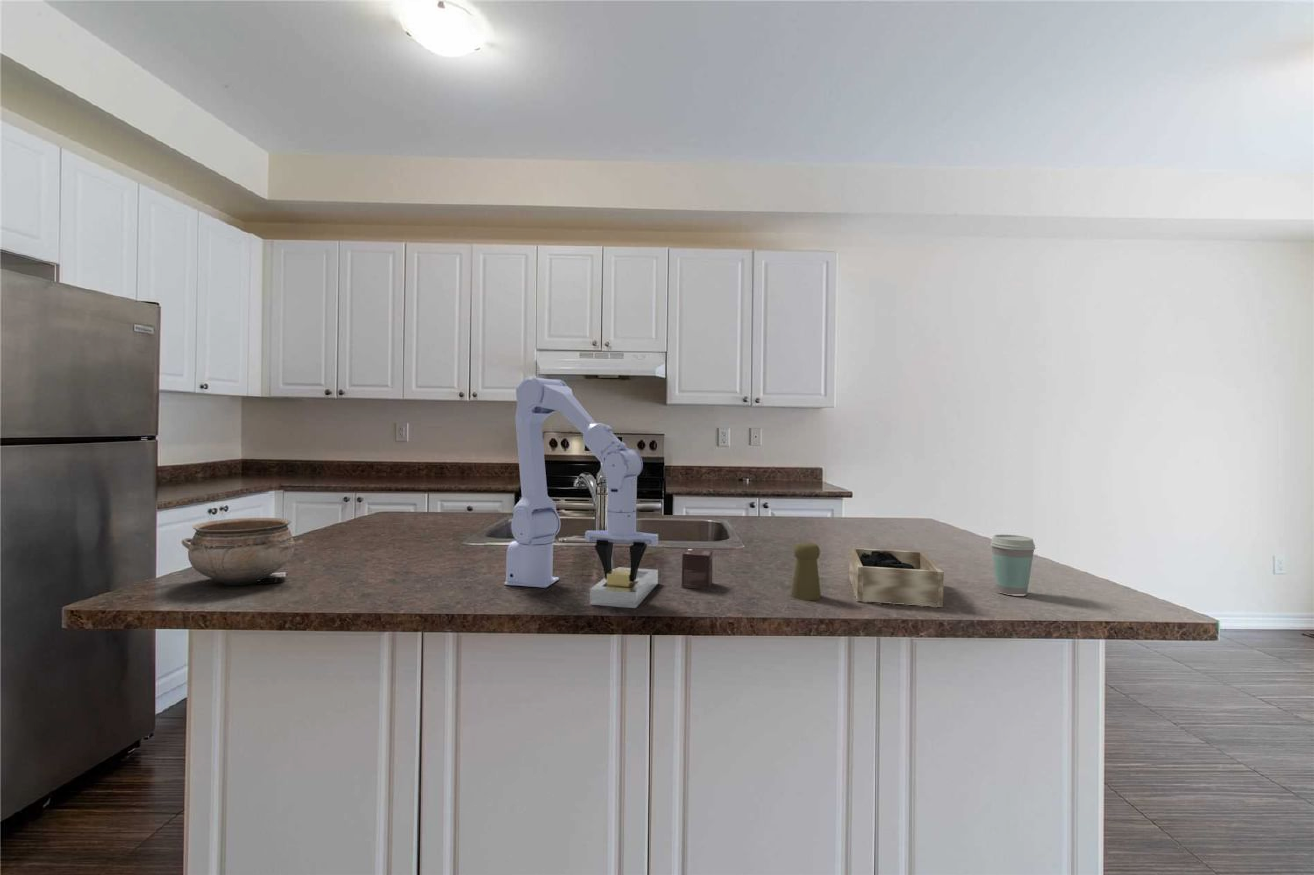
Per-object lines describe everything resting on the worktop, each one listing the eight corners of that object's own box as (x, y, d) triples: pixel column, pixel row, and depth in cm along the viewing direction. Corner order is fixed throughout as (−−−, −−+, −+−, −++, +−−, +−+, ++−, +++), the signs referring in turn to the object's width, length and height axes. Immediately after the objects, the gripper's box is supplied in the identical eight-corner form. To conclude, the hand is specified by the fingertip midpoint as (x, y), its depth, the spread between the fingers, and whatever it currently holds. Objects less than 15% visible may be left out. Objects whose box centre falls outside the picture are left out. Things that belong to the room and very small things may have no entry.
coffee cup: (1032, 591, 143) (1033, 536, 143) (1036, 600, 136) (1037, 542, 135) (988, 586, 147) (989, 532, 147) (989, 595, 139) (991, 538, 139)
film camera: (935, 602, 133) (937, 557, 133) (895, 605, 131) (896, 560, 130) (888, 584, 148) (889, 544, 148) (850, 586, 145) (851, 545, 145)
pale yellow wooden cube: (606, 596, 129) (606, 573, 129) (612, 590, 134) (613, 568, 134) (628, 598, 128) (629, 575, 128) (634, 592, 133) (634, 570, 133)
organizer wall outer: (937, 607, 129) (938, 571, 129) (918, 582, 150) (918, 551, 149) (942, 607, 129) (943, 572, 129) (922, 582, 149) (923, 551, 149)
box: (709, 589, 140) (709, 555, 140) (681, 587, 141) (681, 553, 141) (712, 583, 146) (713, 549, 146) (685, 581, 147) (686, 548, 147)
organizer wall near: (862, 602, 132) (863, 567, 132) (861, 600, 133) (862, 566, 133) (937, 607, 129) (938, 571, 129) (936, 606, 130) (937, 570, 130)
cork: (822, 594, 138) (823, 541, 137) (819, 601, 132) (820, 546, 132) (792, 591, 140) (794, 539, 139) (788, 598, 134) (790, 544, 134)
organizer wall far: (854, 579, 151) (854, 548, 151) (853, 578, 152) (854, 548, 152) (918, 583, 149) (919, 552, 148) (918, 582, 150) (918, 551, 149)
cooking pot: (324, 572, 149) (325, 518, 149) (276, 594, 130) (276, 532, 130) (213, 570, 149) (213, 516, 149) (149, 591, 130) (149, 529, 130)
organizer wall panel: (857, 601, 132) (858, 566, 132) (849, 578, 153) (850, 547, 153) (862, 602, 132) (863, 567, 132) (853, 578, 152) (854, 548, 152)
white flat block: (590, 604, 127) (590, 588, 126) (617, 580, 146) (618, 567, 146) (635, 608, 125) (635, 592, 125) (657, 583, 144) (658, 569, 144)
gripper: (580, 511, 128) (579, 581, 128) (653, 515, 125) (652, 586, 125) (591, 507, 135) (590, 573, 135) (660, 510, 132) (659, 578, 132)
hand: (620, 579), depth 131 cm, fingers closed on pale yellow wooden cube, 4 cm apart
